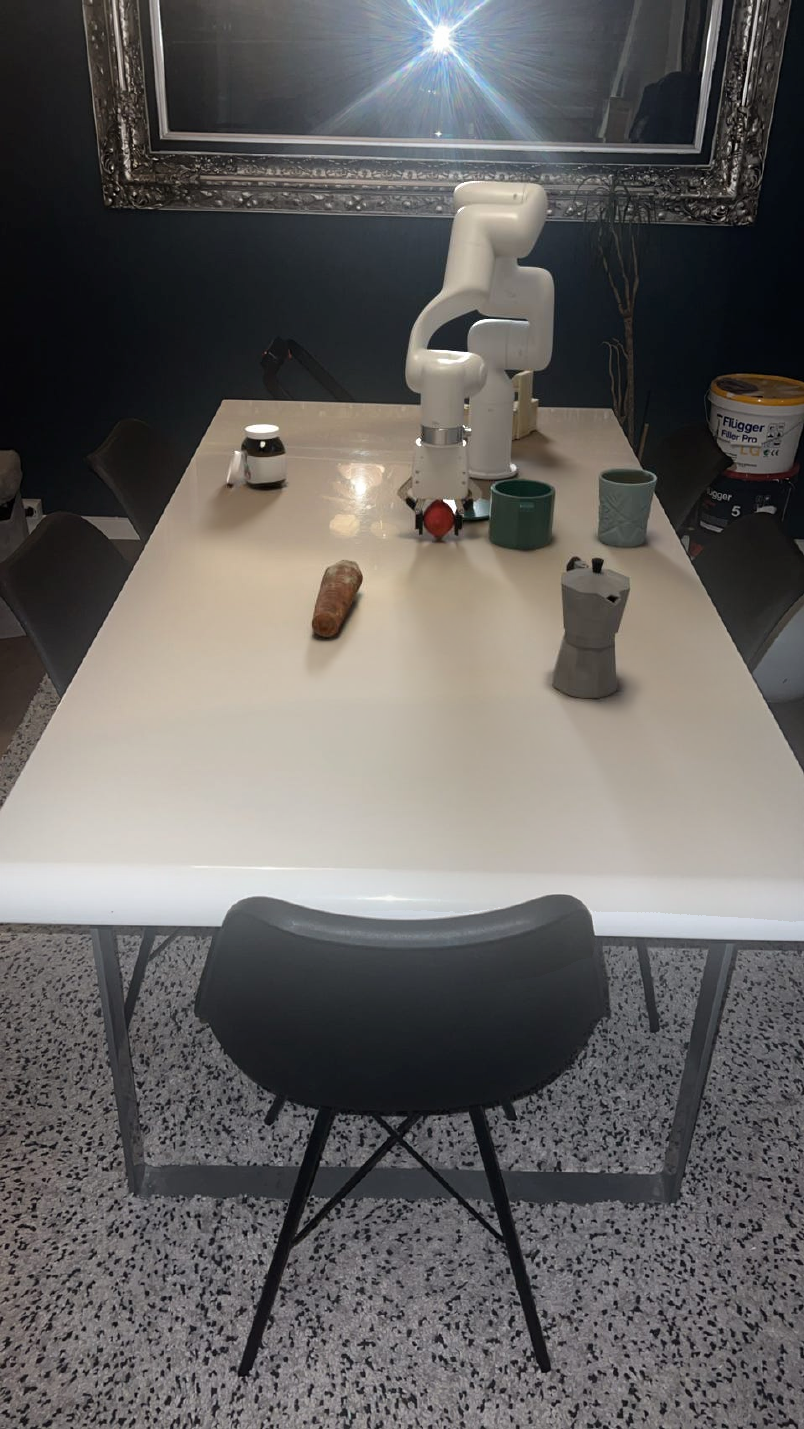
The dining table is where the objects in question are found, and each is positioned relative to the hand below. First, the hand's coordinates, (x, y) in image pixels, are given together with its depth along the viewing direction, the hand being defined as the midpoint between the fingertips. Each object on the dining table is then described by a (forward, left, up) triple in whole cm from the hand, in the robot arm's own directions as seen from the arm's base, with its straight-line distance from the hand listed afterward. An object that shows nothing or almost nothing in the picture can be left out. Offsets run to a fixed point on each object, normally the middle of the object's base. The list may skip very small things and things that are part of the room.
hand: (438, 532), depth 190 cm
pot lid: (-4, +16, -1) cm, 16 cm away
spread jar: (-49, +4, -1) cm, 49 cm away
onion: (0, 0, -1) cm, 1 cm away
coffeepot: (+47, -35, -1) cm, 59 cm away
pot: (+12, +9, -1) cm, 15 cm away
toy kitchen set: (-32, +72, -1) cm, 79 cm away
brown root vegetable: (+7, -38, -1) cm, 39 cm away
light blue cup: (+27, +20, -1) cm, 34 cm away
